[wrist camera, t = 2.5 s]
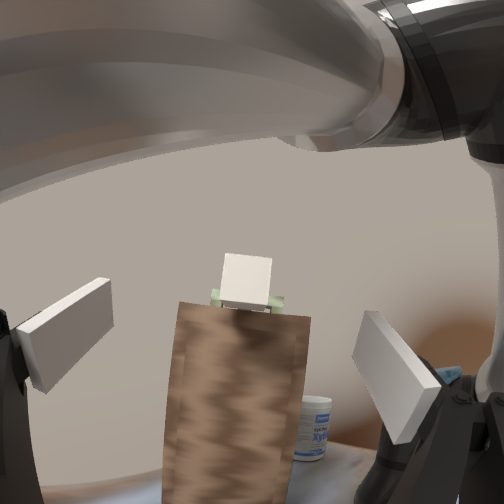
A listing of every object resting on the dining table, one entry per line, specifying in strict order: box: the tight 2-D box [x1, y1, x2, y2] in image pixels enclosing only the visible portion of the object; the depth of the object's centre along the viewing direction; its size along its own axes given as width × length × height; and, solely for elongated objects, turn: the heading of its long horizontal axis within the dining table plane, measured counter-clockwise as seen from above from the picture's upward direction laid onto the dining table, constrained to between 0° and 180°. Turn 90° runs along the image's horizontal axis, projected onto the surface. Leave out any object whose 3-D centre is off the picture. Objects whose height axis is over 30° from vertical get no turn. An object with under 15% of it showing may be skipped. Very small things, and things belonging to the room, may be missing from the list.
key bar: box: [219, 253, 272, 311], centre depth 32 cm, size 4×18×4 cm, turn 1°
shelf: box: [162, 289, 311, 504], centre depth 34 cm, size 15×14×33 cm
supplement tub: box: [293, 396, 332, 461], centre depth 55 cm, size 10×10×15 cm
